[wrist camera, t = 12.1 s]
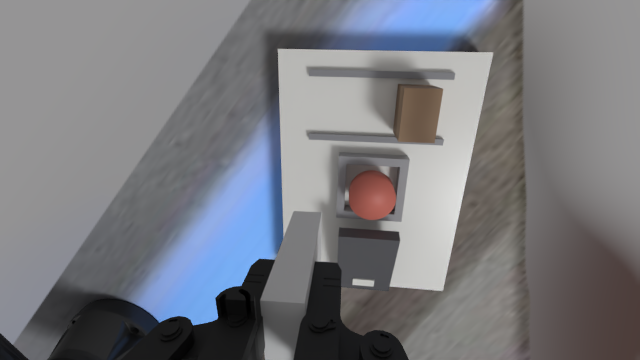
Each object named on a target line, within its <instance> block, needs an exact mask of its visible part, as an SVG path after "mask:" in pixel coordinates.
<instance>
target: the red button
mask: <svg viewBox="0 0 640 360" xmlns="http://www.w3.org/2000/svg"><path fill="white" fill-rule="evenodd" d="M395 203H396V194H395V191H394V187H393V184H392V182H391V180H390V179H389V177H388V176H387V175H385V174H384V173H382V172H379V171H375V170H368V171H364V172H361V173H360V174H358V175H357V176H356V177H354V179H353V180H352V182H351V184H350V187H349V204H350V207H351V209H352V210H353V212H354V213H355V214H356V215H358V216H359V217H361V218H364V219H368V220H377V219H380V218H383V217H385V216H387V215H388V214H389V213H390V212H391V211H392V210H393V208H394V206H395Z"/></svg>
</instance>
